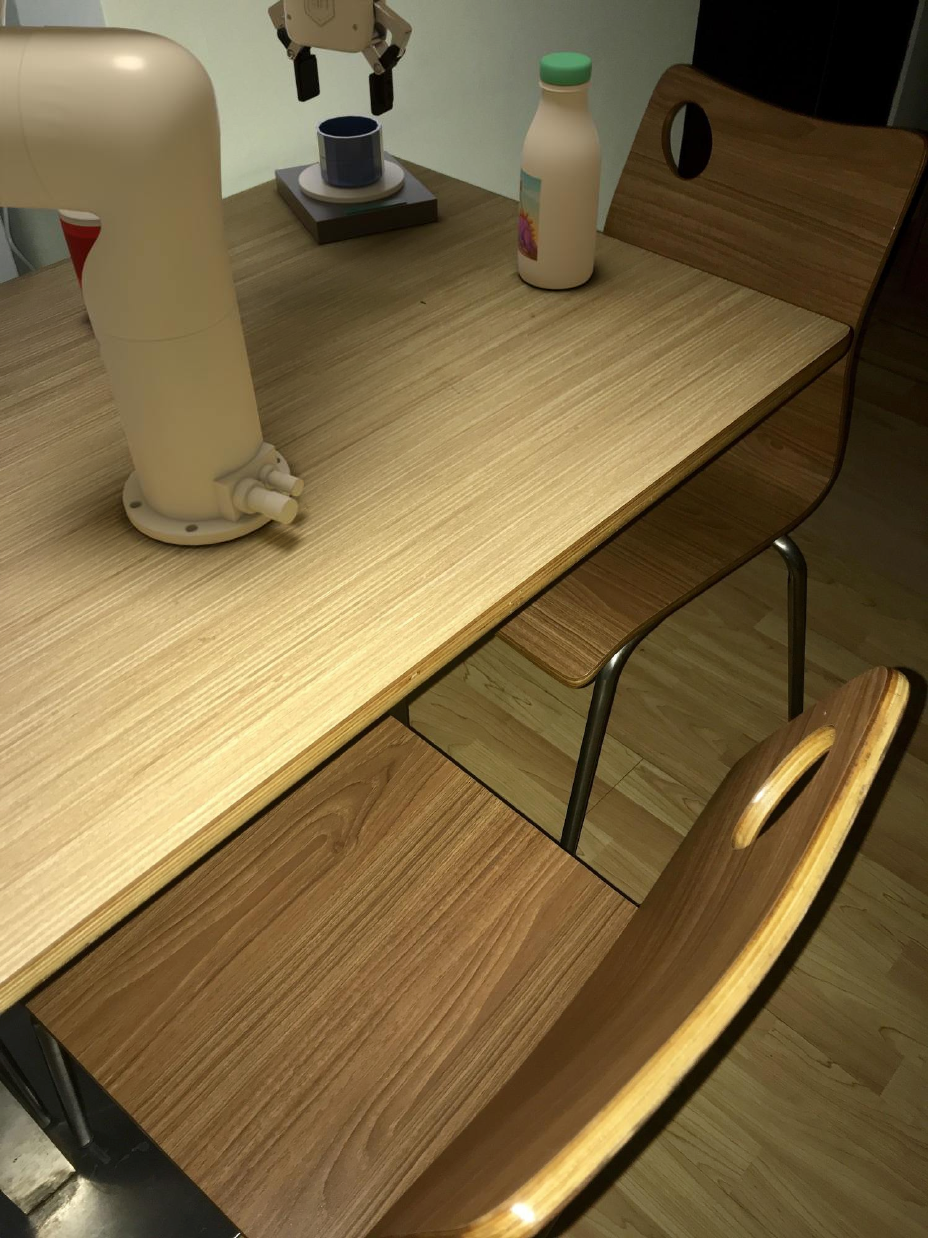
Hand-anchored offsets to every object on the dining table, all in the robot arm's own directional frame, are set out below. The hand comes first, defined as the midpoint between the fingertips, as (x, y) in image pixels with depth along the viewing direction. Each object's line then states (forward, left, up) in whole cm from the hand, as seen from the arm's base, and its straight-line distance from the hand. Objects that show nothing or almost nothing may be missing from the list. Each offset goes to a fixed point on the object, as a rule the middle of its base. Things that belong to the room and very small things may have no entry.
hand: (345, 104), depth 107 cm
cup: (0, 0, -8) cm, 8 cm away
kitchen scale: (0, 0, -11) cm, 11 cm away
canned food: (+4, +32, -11) cm, 34 cm away
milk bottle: (-28, +4, -11) cm, 30 cm away
